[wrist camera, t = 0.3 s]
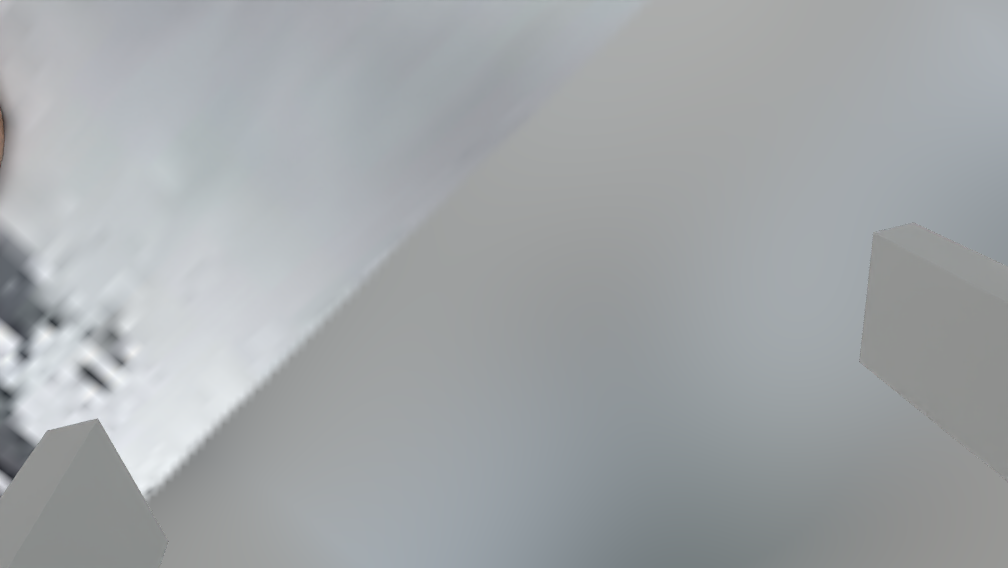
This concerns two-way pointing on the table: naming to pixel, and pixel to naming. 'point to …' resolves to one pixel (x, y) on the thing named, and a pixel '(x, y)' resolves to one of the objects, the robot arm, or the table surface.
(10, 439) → the table surface
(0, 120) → the bowl
